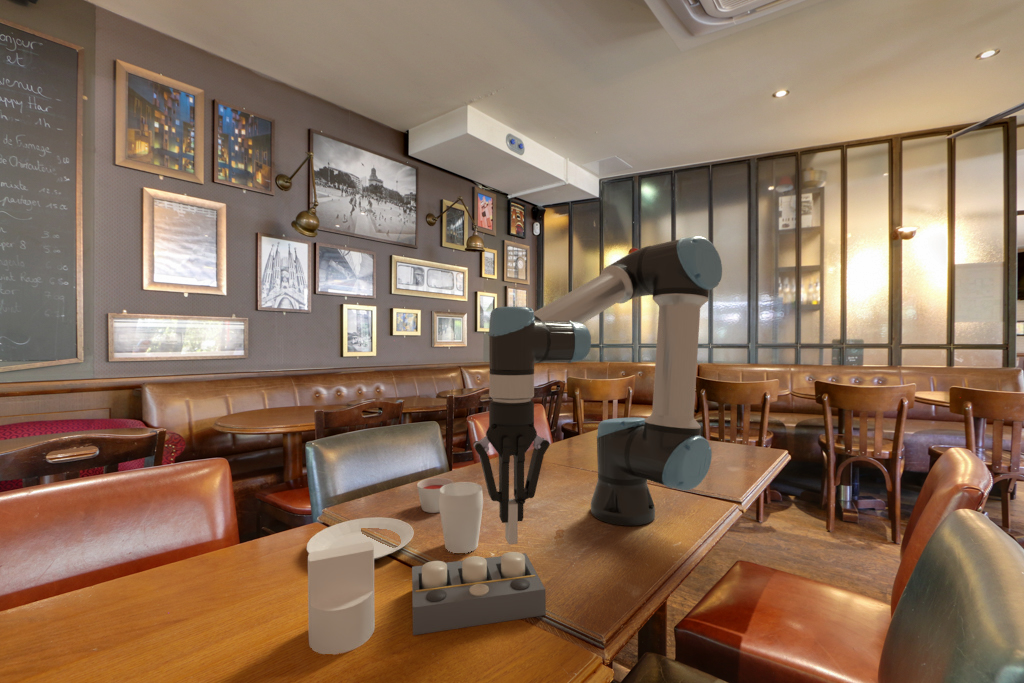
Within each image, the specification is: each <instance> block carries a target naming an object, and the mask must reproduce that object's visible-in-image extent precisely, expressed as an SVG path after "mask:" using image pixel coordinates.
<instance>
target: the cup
mask: <svg viewBox="0 0 1024 683" xmlns="http://www.w3.org/2000/svg"><path fill="white" fill-rule="evenodd" d="M483 507H484V496H483V486H482V485H481V484H479V483H477V482H476V483H475V482H473V481H458V482H457V481H456V482H453V483H450V484H447V485H444V486H442V487H441V488H440V498H439V508H440V512H439V515H440V520H441V528H442V534H443V535H442V536H443V540H444V547H445V550H446V549H447V550H448V551H447V550H446V551H447V552H449V551H450V552H449V553H451V552H453V553H452V554H454V553H465V554H469V553H471V551H472V552H474V551H476V549H477V548H478V547H479V538H480V531H481V523H482V518H483V517H482V515H483ZM468 552H469V553H468Z"/></svg>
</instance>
